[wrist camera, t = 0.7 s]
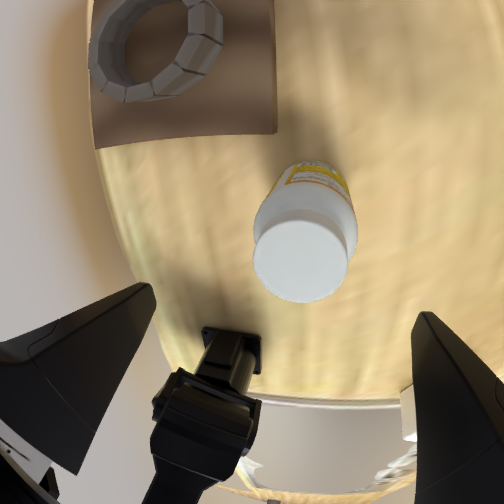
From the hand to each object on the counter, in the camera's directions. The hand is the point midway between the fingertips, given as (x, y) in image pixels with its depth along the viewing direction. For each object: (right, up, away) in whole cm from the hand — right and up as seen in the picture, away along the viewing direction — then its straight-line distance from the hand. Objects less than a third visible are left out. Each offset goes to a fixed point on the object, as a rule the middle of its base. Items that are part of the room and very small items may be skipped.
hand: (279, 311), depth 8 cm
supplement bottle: (+4, +6, +11) cm, 13 cm away
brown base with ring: (-7, +17, +7) cm, 20 cm away
